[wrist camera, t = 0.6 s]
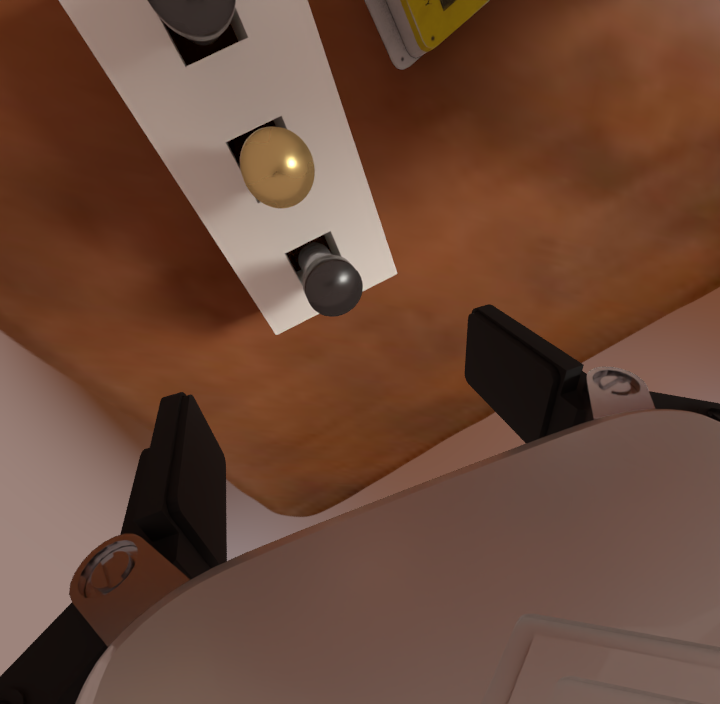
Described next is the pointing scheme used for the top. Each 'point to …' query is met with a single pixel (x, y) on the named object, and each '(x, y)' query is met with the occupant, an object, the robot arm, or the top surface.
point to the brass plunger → (277, 167)
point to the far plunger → (329, 280)
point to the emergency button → (418, 24)
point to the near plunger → (196, 17)
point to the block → (235, 117)
